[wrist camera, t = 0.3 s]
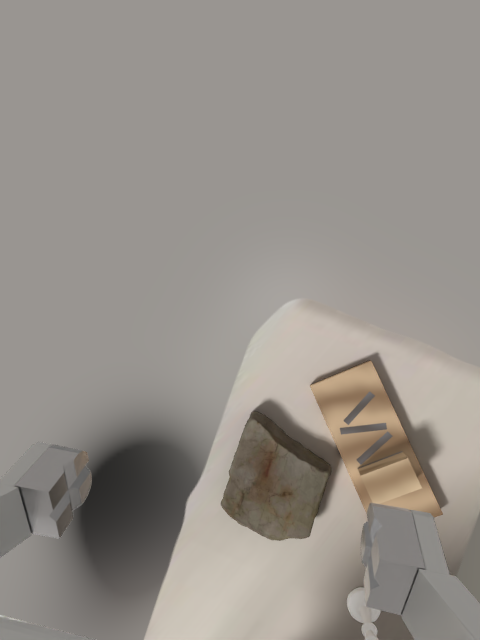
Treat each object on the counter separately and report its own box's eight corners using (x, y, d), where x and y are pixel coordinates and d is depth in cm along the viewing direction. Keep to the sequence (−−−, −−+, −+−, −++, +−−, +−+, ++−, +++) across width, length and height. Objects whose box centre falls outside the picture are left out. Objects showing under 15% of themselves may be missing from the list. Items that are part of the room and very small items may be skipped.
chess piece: (348, 620, 60) (356, 675, 50) (345, 586, 60) (353, 634, 51) (382, 621, 59) (397, 677, 50) (379, 587, 60) (393, 636, 50)
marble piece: (252, 408, 64) (249, 413, 60) (340, 444, 62) (342, 451, 58) (217, 504, 65) (211, 516, 60) (303, 543, 62) (303, 558, 58)
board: (439, 509, 59) (443, 514, 57) (375, 532, 60) (377, 537, 59) (369, 360, 62) (371, 360, 60) (309, 385, 63) (310, 386, 61)
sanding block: (415, 479, 58) (422, 488, 55) (369, 496, 59) (373, 505, 56) (401, 451, 59) (407, 457, 55) (357, 467, 60) (360, 475, 56)
